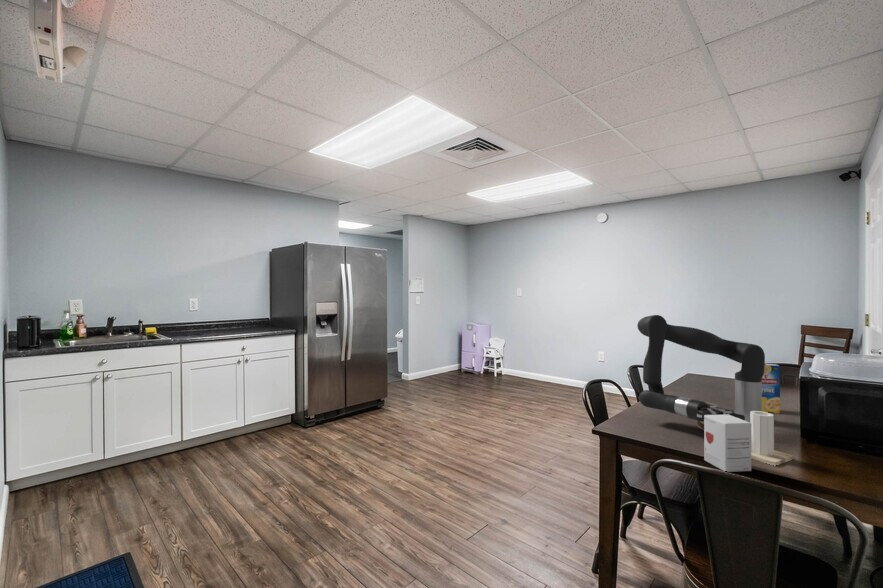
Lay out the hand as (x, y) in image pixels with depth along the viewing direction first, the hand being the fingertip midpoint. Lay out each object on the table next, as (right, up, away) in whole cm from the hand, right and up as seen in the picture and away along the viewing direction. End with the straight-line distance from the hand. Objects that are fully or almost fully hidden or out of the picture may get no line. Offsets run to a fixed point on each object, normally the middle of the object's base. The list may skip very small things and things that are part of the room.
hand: (737, 420), depth 138 cm
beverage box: (+47, -11, +46) cm, 67 cm away
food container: (+4, -10, +19) cm, 22 cm away
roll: (+3, -9, -7) cm, 11 cm away
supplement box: (-14, -10, -14) cm, 23 cm away
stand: (+3, -10, -7) cm, 12 cm away
